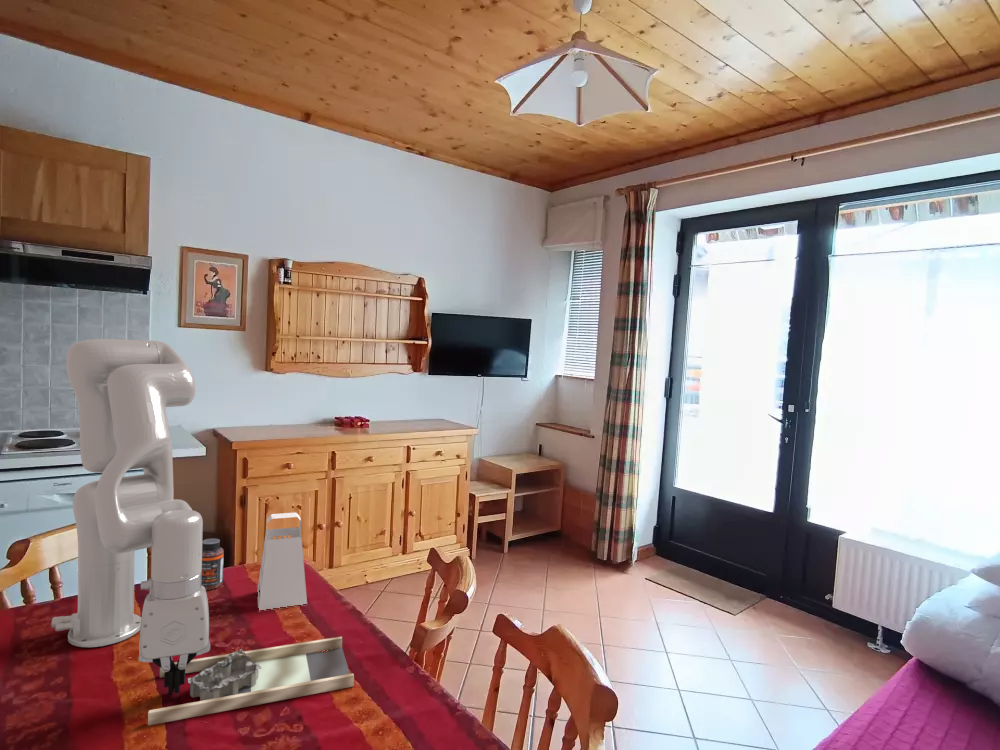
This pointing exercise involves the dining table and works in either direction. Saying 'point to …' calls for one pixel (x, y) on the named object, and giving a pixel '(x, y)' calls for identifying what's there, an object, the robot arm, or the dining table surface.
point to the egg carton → (225, 677)
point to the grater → (282, 568)
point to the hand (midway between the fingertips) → (174, 688)
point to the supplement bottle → (212, 564)
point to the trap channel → (271, 678)
